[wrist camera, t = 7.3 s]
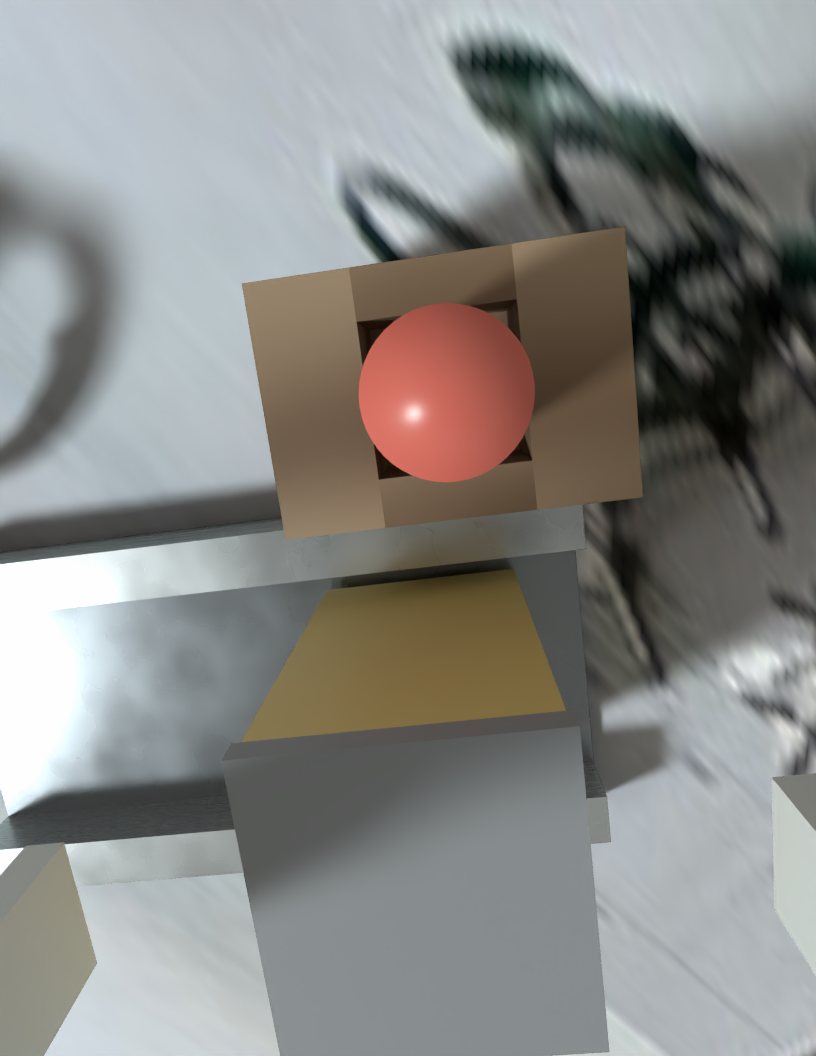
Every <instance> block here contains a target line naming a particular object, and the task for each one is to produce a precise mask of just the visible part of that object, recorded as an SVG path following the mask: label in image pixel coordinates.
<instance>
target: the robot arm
mask: <svg viewBox="0 0 816 1056" xmlns="http://www.w3.org/2000/svg"><path fill="white" fill-rule="evenodd" d="M772 816H773V861H774V906H775V911H776V913H777V914H778V916H779V918H780V919H781V921H782V922H783V924H784V926H785V927H786V929H787V930H788V932H789V934H790V935H791V937H792V939H793V940H794V942H795V943H796V945H797V947H798V948H799V950H800V951H801V953H802V955H803V956H804V958H805V959H806V961H807V963H808V964H809V966H810V967H811V969H812V971H813V972H814V974H815V975H816V773H815V774H804V775H793V776H782V777H772ZM96 964H97V961H96V957H95V954H94V950H93V946H92V943H91V939H90V935H89V932H88V928H87V924H86V921H85V917H84V913H83V910H82V906H81V902H80V899H79V895H78V891H77V888H76V884H75V880H74V877H73V873H72V869H71V866H70V862H69V858H68V855H67V851H66V847H65V844H64V842H62V843H51V844H40V845H29V846H25V847H24V849H23V850H22V851H21V852H20V853H19V854H18V855H17V857H16V858H15V859H14V860H13V861H12V862H11V864H10V865H9V866H8V867H7V868H6V869H5V870H4V872H3V873H2V874H1V875H0V1056H44V1054H45V1053H46V1051H47V1049H48V1047H49V1046H50V1044H51V1042H52V1041H53V1039H54V1037H55V1035H56V1034H57V1032H58V1030H59V1028H60V1027H61V1025H62V1023H63V1021H64V1020H65V1018H66V1016H67V1014H68V1013H69V1011H70V1009H71V1007H72V1006H73V1004H74V1002H75V1000H76V999H77V997H78V995H79V993H80V992H81V990H82V988H83V987H84V985H85V983H86V981H87V980H88V978H89V976H90V974H91V973H92V971H93V969H94V967H95V966H96Z"/></svg>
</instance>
